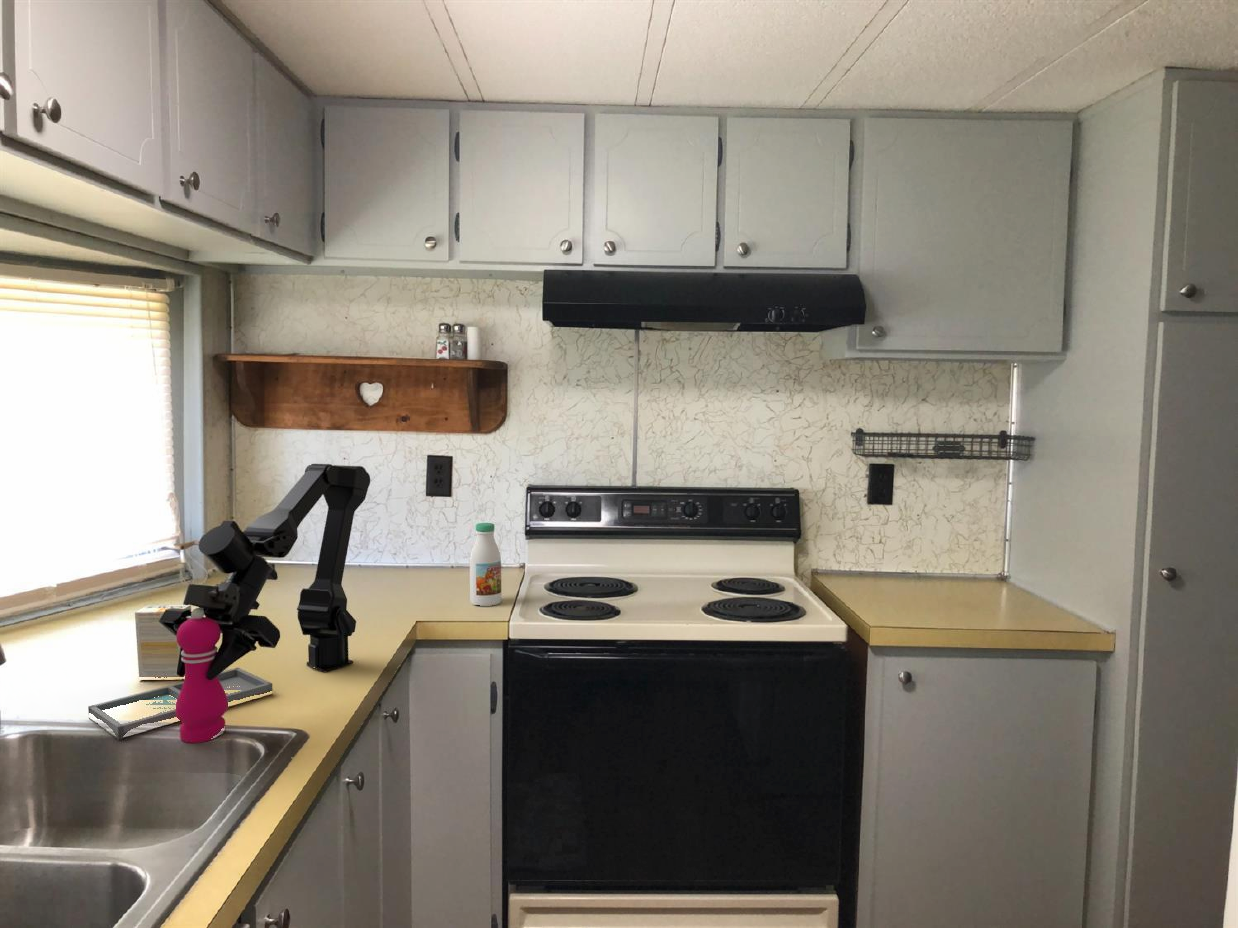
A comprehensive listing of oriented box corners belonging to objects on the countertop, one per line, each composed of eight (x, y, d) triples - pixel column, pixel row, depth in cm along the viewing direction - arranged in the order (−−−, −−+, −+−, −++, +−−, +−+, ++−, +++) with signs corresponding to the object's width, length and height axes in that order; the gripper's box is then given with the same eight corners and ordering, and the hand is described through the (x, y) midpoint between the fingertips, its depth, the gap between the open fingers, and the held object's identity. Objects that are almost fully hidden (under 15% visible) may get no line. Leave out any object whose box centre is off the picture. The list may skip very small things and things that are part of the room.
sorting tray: (238, 678, 152) (238, 667, 152) (272, 694, 144) (272, 683, 144) (88, 718, 133) (88, 706, 133) (118, 740, 125) (117, 727, 125)
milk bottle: (465, 606, 202) (464, 525, 200) (477, 598, 210) (476, 520, 208) (494, 608, 200) (493, 527, 198) (506, 600, 208) (505, 522, 206)
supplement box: (196, 672, 155) (193, 604, 154) (183, 681, 150) (180, 611, 149) (151, 672, 155) (148, 604, 153) (137, 681, 150) (133, 611, 148)
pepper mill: (238, 725, 130) (233, 602, 128) (211, 745, 123) (205, 615, 121) (195, 723, 131) (189, 600, 129) (166, 743, 124) (159, 614, 122)
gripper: (165, 558, 131) (109, 647, 121) (265, 565, 126) (216, 658, 117) (204, 595, 139) (155, 680, 130) (299, 602, 134) (256, 692, 125)
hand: (193, 677), depth 125 cm, fingers closed on pepper mill, 5 cm apart
